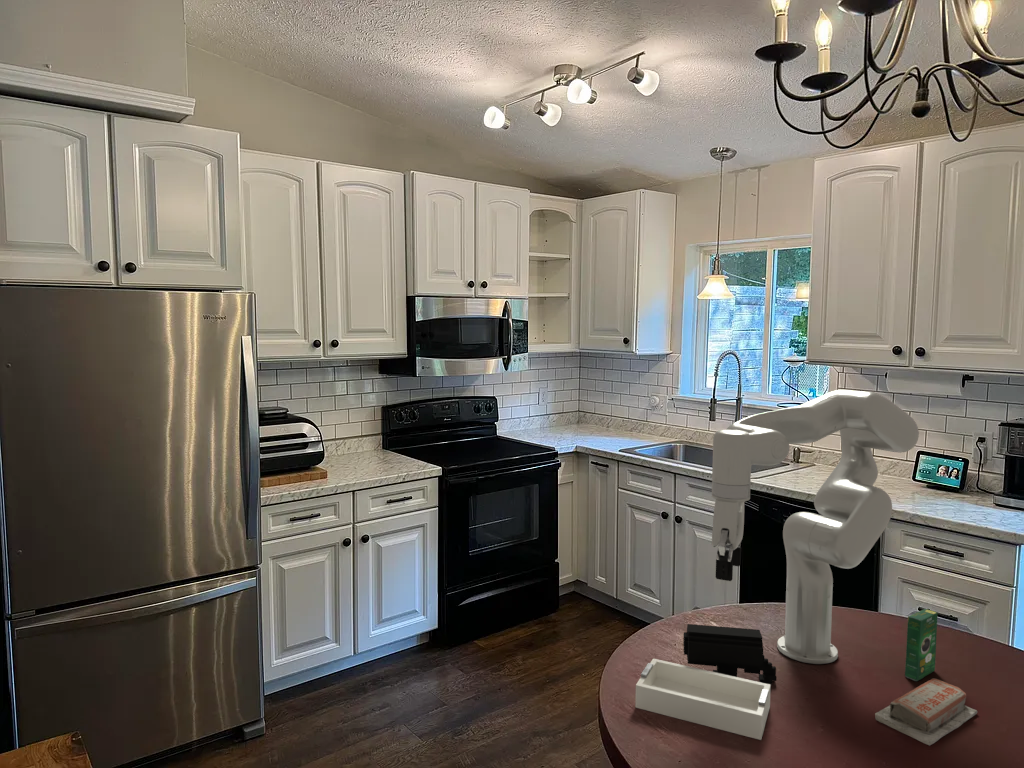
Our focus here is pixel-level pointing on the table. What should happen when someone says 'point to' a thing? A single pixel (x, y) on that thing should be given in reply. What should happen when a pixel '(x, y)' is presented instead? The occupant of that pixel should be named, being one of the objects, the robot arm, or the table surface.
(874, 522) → the robot arm
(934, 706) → the packaged product
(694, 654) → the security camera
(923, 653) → the coffee box
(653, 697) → the cradle
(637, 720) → the table surface
